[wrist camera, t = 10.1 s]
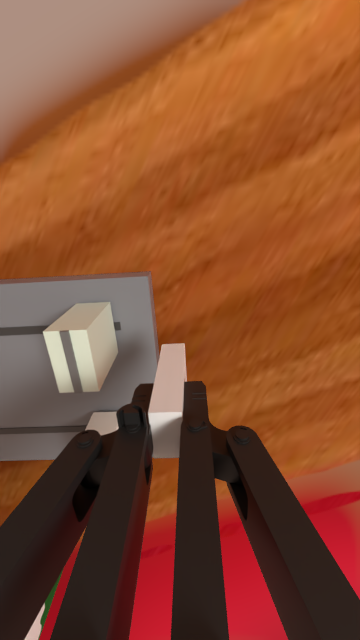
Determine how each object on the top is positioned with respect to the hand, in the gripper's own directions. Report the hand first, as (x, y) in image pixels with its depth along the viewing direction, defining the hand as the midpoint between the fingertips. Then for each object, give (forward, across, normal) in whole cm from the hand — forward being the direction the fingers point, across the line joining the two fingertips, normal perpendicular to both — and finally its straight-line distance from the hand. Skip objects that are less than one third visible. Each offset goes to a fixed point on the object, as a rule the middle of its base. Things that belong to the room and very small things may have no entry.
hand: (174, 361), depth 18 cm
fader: (+6, -7, 0) cm, 10 cm away
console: (+9, -13, -6) cm, 17 cm away
